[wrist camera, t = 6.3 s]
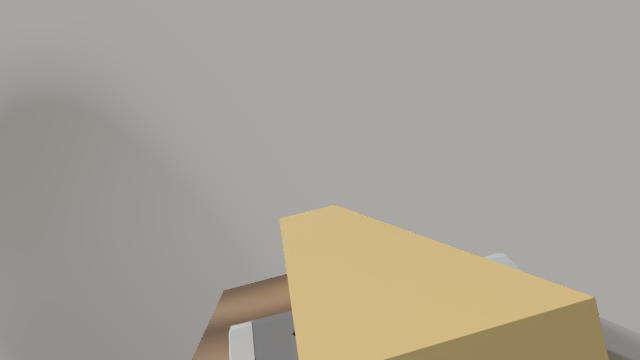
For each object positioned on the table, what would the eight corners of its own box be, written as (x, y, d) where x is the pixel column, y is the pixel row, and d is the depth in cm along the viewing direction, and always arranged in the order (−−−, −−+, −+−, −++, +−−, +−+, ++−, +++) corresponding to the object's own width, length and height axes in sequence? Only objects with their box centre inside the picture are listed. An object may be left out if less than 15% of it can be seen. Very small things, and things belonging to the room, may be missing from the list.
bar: (658, 585, 5) (595, 297, 5) (376, 698, 4) (302, 384, 4) (347, 259, 25) (334, 204, 24) (292, 274, 24) (279, 218, 24)
